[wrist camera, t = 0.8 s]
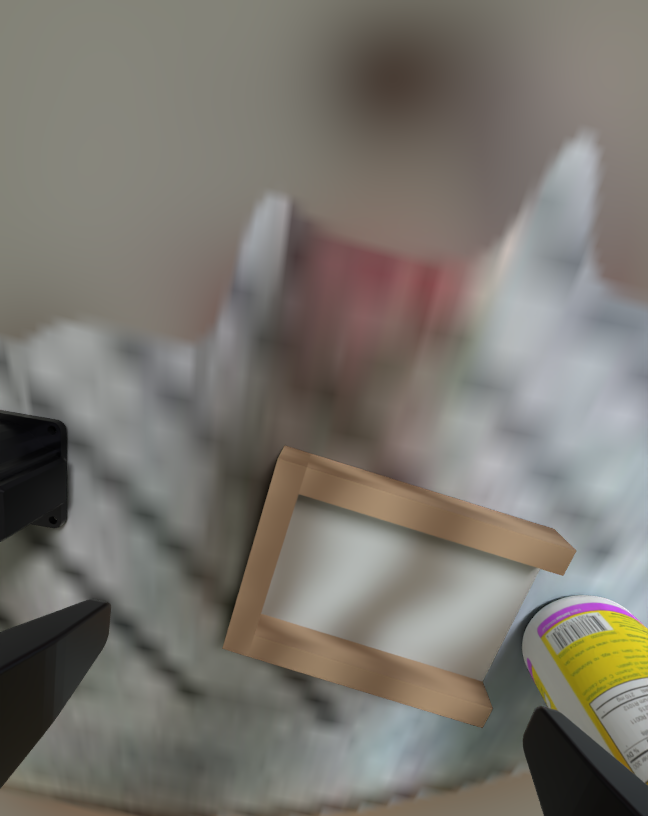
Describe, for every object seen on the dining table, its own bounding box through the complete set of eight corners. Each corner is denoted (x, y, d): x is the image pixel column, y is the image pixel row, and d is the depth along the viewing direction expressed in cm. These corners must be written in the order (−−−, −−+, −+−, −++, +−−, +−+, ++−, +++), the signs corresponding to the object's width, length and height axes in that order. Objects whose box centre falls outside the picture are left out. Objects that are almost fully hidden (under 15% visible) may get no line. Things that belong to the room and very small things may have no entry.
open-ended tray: (233, 621, 23) (222, 648, 21) (284, 445, 20) (277, 458, 18) (470, 693, 23) (482, 728, 21) (554, 529, 20) (576, 550, 18)
